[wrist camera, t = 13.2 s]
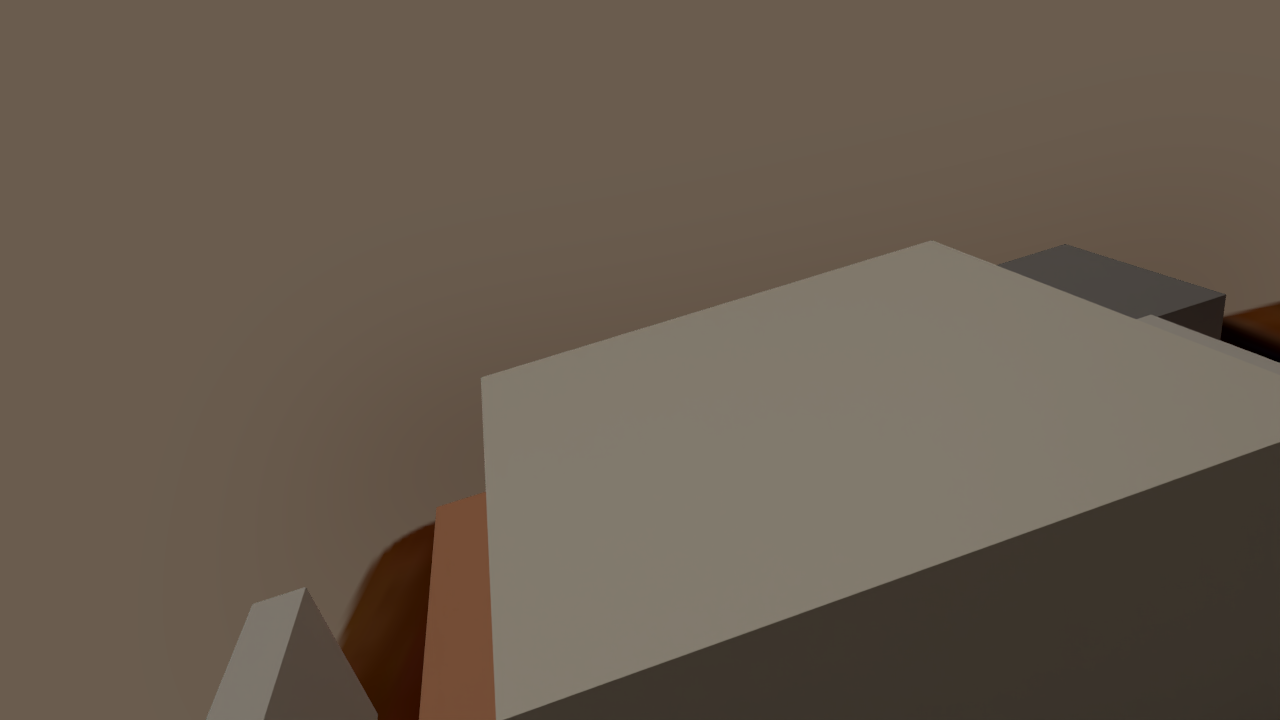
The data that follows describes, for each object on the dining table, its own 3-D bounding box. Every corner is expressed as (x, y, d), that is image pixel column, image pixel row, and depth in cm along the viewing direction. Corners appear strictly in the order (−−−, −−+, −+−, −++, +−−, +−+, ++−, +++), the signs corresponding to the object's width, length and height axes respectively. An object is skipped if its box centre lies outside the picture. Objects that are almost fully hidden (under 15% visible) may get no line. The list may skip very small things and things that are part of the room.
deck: (1079, 404, 26) (1086, 215, 23) (1860, 851, 11) (2162, 491, 8) (478, 604, 23) (400, 424, 20) (486, 1478, 9) (225, 1295, 6)
